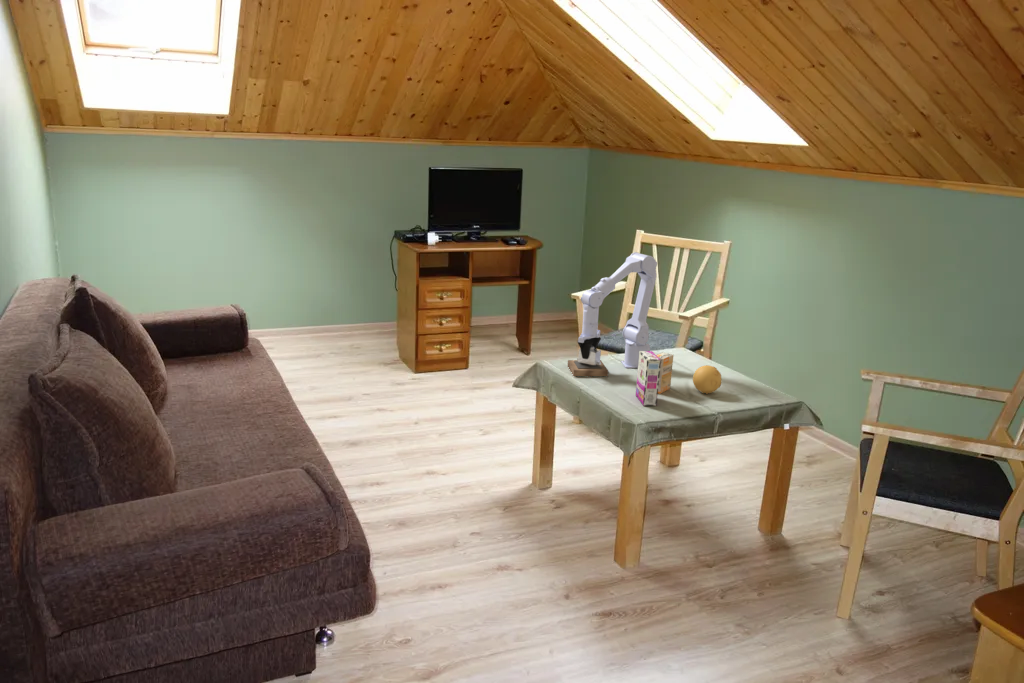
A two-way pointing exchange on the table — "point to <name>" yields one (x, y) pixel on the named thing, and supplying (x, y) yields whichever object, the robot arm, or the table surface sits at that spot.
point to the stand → (587, 369)
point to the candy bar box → (648, 378)
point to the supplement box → (665, 371)
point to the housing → (591, 357)
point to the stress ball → (707, 379)
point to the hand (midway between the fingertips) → (588, 357)
